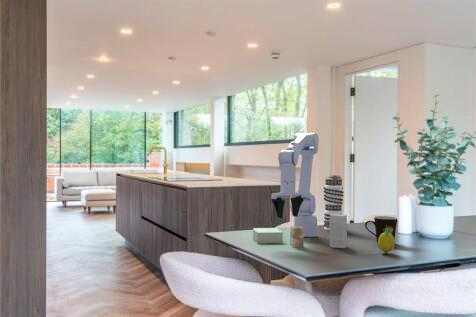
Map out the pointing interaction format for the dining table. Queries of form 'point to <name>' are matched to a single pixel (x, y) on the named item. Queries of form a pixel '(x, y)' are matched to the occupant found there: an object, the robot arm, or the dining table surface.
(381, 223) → the coffee mug
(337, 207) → the decorative candle
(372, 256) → the dining table surface
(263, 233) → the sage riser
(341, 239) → the skincare box
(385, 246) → the lemon
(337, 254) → the dining table surface
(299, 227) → the maple block
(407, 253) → the dining table surface
